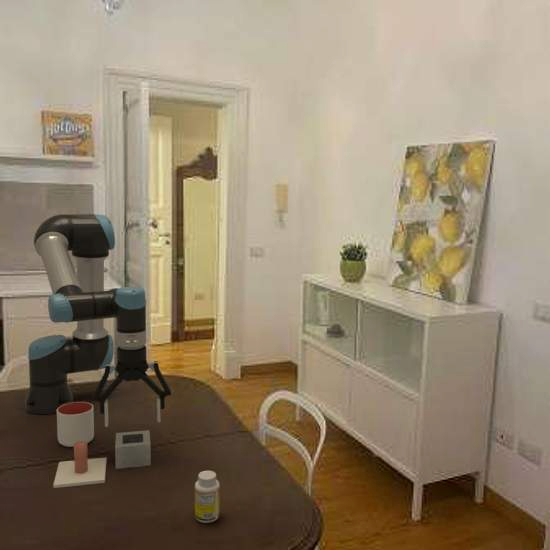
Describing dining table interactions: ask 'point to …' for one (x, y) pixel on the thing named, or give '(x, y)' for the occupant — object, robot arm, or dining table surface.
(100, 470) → the peg stand
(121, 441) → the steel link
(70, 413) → the cup
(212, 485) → the supplement bottle
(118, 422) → the dining table surface
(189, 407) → the dining table surface
